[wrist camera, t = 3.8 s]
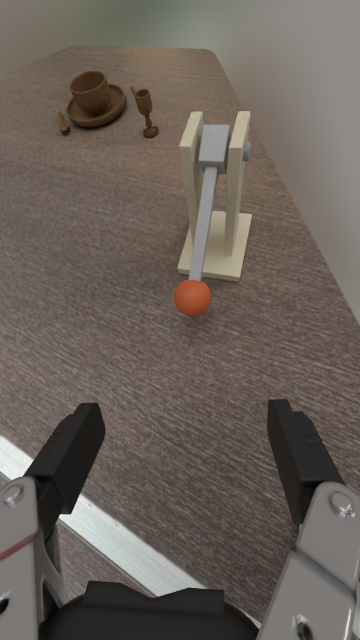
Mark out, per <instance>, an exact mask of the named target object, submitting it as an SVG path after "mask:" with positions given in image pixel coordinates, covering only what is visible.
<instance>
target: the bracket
mask: <svg viewBox="0 0 360 640" xmlns="http://www.w3.org/2000/svg"><path fill="white" fill-rule="evenodd" d="M250 113H251V112H250V111H239V112H238V115H237V119H236V122H235V126H234V130H233V134H232V137H231V141H230V145H229V154H228V176H227V198H226V212H220V211H213V212H212V218H211V224H210V231H209V237H208V243H207V249H206V256H205V262H204V268H203V274H202V277H208V278H215V279H222V280H229V281H235V282H239V280H240V275H241V270H242V265H243V259H244V254H245V249H246V244H247V239H248V233H249V228H250V223H251V218H252V214H243V213H239V211H240V202H241V193H242V184H243V175H244V166H245V162H248V161H249V157H250V152H251V144H252V142H247V139H248V130H249V121H250ZM202 132H203V114H202V112H191V115H190V118H189V120H188V123H187V126H186V129H185V131H184V134H183V137H182V140H181V142H180V145H179V149H180V157H181V164H182V171H183V178H184V186H185V193H186V200H187V207H188V215H189V222H190V227H189V230H188V234H187V237H186V241H185V244H184V247H183V251H182V254H181V257H180V261H179V264H178V268H177V269H178V273H181V274H187V275H189V273H190V266H191V260H192V253H193V246H194V240H195V233H196V226H197V220H198V213H199V206H200V200H201V193H202V186H203V180H204V173H202V170H201V167H200V164H199V161H198V159H199V152H200V145H201V139H202Z"/></svg>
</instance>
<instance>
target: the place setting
mask: <svg viewBox="0 0 360 640" xmlns="http://www.w3.org/2000/svg"><path fill="white" fill-rule="evenodd" d="M131 88H132V90H133V92H134V94H135V99H136V103H137V106H138V109H139V111H140V113H141V114H143V115H145V118H146V125H147V127H148V128H146V129H145V130H144V132H143V134H144V136H145V137H147V138H151V137H154V136H156V135H157V134H158V128H157V127H151V126H152V121H151V119H150V115H149V114H150V112H151V111H152V102H151V97H150V92H149V90H148V89H140V90H138V91H137V92H136V91H135V89H134V88H133V87H131ZM70 90H71V92H72V94H73V98H72V99H71V100H70V101H69V103H68V105H67V108H66V112H67V114H68V116H69V118H70V119H71V121H72V122H74V123H75V124H77V125H79V126H82V127H98V126H102V125H104V124H107V123H109V122H111V121H112V120H113V119H115V118H116V117H117V116H118V115H119V114H120V113H121V111H122V110H123V108H124V105H125V93H124V91H123V89H122V88H121V87H119V86H117V85H115V84H108V82H107V79H106V76H105V74H104V73H102V72H100V71H89V72H85V73H83V74H81V75H79V76H77V77H76V78H75V79H74V80H73V81H72V82H71V84H70ZM58 115H59V118H60V121H61V124H60V126H59V130H60V131H62V132H65V131H67V130H68V124H67V123H64V122H63V119H62V115H61V113H60V112H58Z"/></svg>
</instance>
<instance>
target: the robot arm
mask: <svg viewBox="0 0 360 640" xmlns="http://www.w3.org/2000/svg"><path fill="white" fill-rule="evenodd" d="M267 431H268V437H269V441H270V445H271V448H272V452H273V455H274V458H275V462H276V465H277V469H278V472H279V475H280V479H281V482H282V486H283V489H284V492H285V496H286V499H287V503H288V506H289V509H290V513H291V516H292V520H293V523H294V524H303V525H302V528H301V530H300V533H299V536H298V538H297V541H296V543H295V546H294V547H292V548H291V550H290V552H289V555H288V557H287V560H286V562H285V565H284V567H283V570H282V573H281V575H280V578H279V580H278V583H277V586H276V588H275V591H274V593H273V596H272V599H271V601H270V604H269V606H268V609H267V612H266V614H265V617H264V620H263V622H262V625H261V627H260V630H259V629H258V627H257V626H256V625H255V624H254V623H253V622H252V621H251V620H250V619H249V618H248V617H247V616H246V615H245V614H244V613H242V612H241V611H240V610H238V609H237V608H235V607H234V606H232V605H230V604H228V603H226V602H224V590H214V589H200V588H186V589H183V590H180V591H176V592H173V593H170V594H166V595H163V596H160V597H156V598H150V597H148V596H146V595H144V594H142V593H140V592H138V591H136V590H134V589H132V588H130V587H128V586H126V585H124V584H122V583H115V582H101V581H89V582H88V585H87V588H86V591H85V594H82V595H80V596H78V597H76V598H74V599H72V600H70V597H69V593H68V590H67V587H66V584H65V580H64V574H63V567H62V559H61V552H60V544H59V537H58V529H57V525H56V522H57V519H58V517H59V515H60V514H71V513H72V511H73V508H74V506H75V504H76V502H77V499H78V497H79V495H80V492H81V490H82V488H83V486H84V483H85V481H86V479H87V477H88V474H89V472H90V470H91V467H92V465H93V463H94V461H95V458H96V456H97V454H98V452H99V449H100V447H101V445H102V442H103V440H104V437H105V424H104V421H103V418H102V414H101V411H100V407H99V405H98V403H81V404H79V406H78V407H77V409H76V410H75V412H74V413H73V414H69V415H68V416H67V417H66V418H65V419H64V420H62V421H61V422H60V423H59V424H58V426H57V427H56V429H55V430H54V432H53V435H51V436H50V438H49V439H48V440H47V443H45V445H44V446H43V448H42V449H41V451H40V452H39V454H38V455H37V456H36V458H35V459H34V461H33V462H32V464H31V465H30V467H29V468H28V470H27V471H26V472H25V474H24V475H23V477H19V478H16V479H14V480H12V481H10V482H9V483H7V484H6V485H5V486H4V487H2V488H1V489H0V640H351V635H352V629H353V623H354V617H355V611H356V604H357V596H356V593H357V586H358V581H359V582H360V497H359V496H358V495H357V494H356V493H355V492H354V491H353V490H351V489H350V488H348V487H347V486H346V485H345V483H344V481H343V480H342V478H341V476H340V474H339V472H338V470H337V468H336V466H335V464H334V463H333V461H332V459H331V457H330V455H329V453H328V451H327V449H326V447H325V445H324V444H323V443H322V440H321V438H320V436H319V434H318V433H317V430H316V428H315V426H314V425H313V423H312V421H311V420H310V419H309V418H308V417H307V416H306V415H305V414H304V413H302V412H293V411H292V409H291V406H290V404H289V402H288V400H287V399H279V400H269V401H268V418H267Z"/></svg>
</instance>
